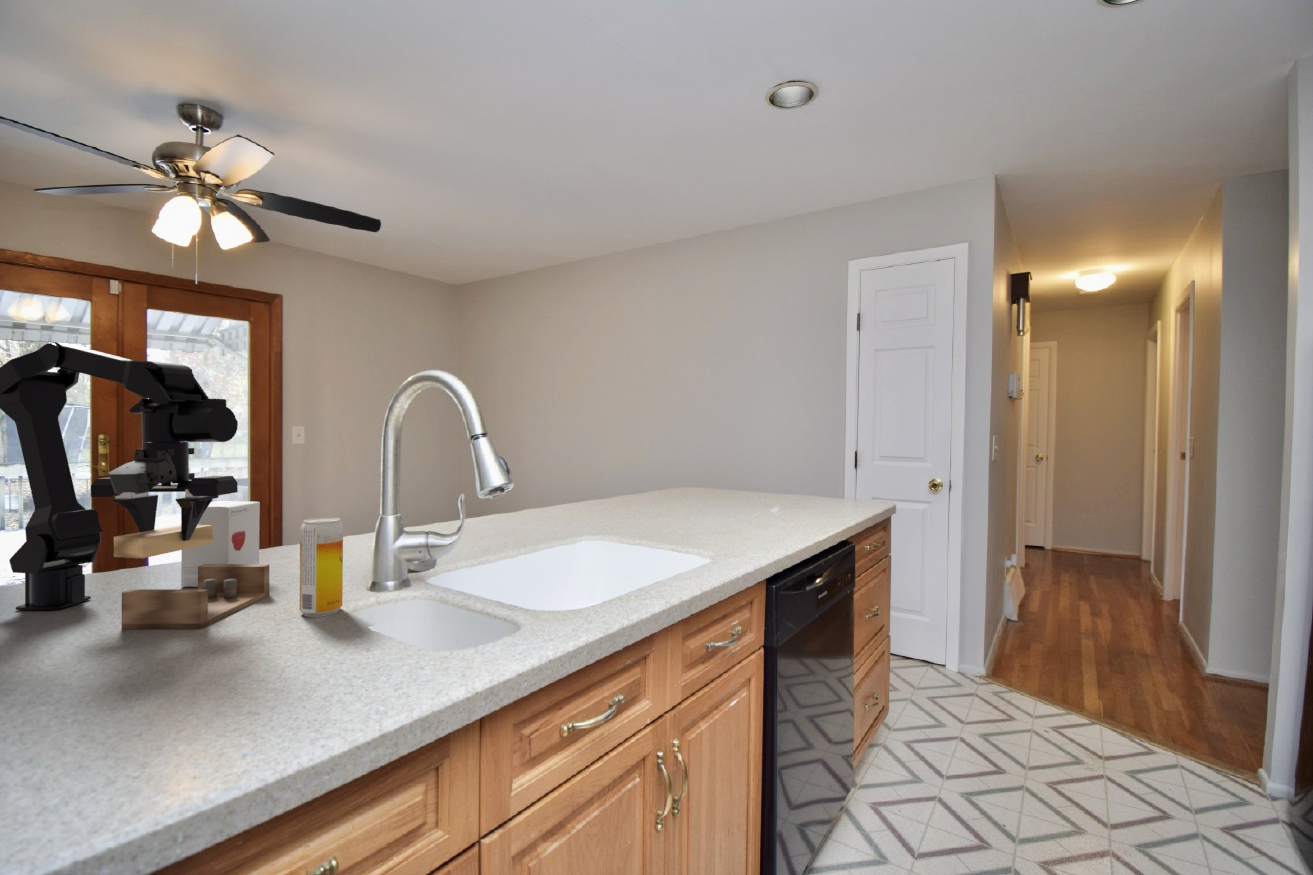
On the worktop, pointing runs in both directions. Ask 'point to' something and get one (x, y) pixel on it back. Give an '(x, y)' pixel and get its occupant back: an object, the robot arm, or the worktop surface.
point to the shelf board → (160, 541)
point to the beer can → (321, 566)
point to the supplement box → (224, 538)
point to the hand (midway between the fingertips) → (167, 540)
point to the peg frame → (196, 598)
